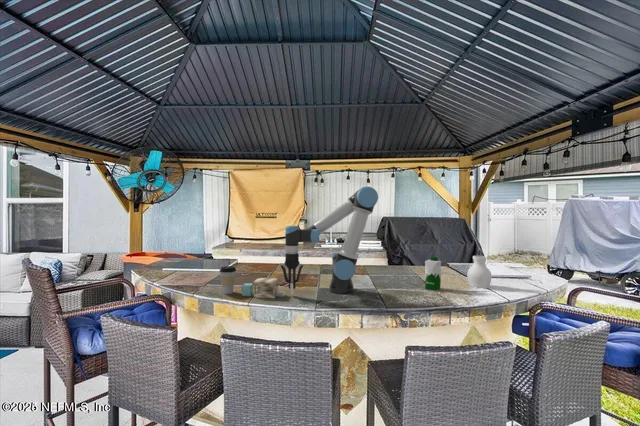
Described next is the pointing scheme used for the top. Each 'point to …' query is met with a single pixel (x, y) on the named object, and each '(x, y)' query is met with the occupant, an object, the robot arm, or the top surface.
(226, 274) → the coffee cup
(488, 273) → the vase
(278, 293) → the rod
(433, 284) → the milk carton
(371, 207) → the robot arm
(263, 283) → the tunnel
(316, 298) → the top surface
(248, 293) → the block
